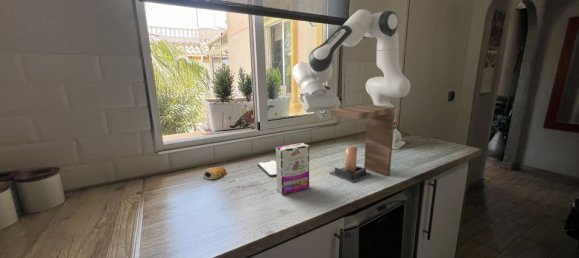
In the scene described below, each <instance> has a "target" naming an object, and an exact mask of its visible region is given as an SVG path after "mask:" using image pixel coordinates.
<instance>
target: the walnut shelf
mask: <svg viewBox="0 0 579 258" xmlns="http://www.w3.org/2000/svg"><path fill="white" fill-rule="evenodd" d="M395 109H396V106H394V107H388V106H378V105H374V104H363V105H355V106H349V107H341V108H337V109H334V110H332V109H330V116H331V117H333V116H334V117H339V118H346V119H351V120H352V119H353V120H364V119H366V127H365V128H366V131H365V146H364V163H363V168H365V169H366V171H370V172H373V173H376V174H379V175H383V176H386V177H388V176H390V175H391V168H392V167H391V166H392V154H393V149H392V143H393V131H394V118H395V119H396V113H395Z"/></svg>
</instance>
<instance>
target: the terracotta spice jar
mask: <svg viewBox="0 0 579 258" xmlns="http://www.w3.org/2000/svg"><path fill="white" fill-rule="evenodd" d="M357 151H358V147H356V146H355V145H347V146H345V151H344V152H345V154H344V155H345V156H344V167H345V171H347V172H350V173H354V172H356V166H357V155H358V152H357Z"/></svg>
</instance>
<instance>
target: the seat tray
mask: <svg viewBox="0 0 579 258" xmlns="http://www.w3.org/2000/svg"><path fill="white" fill-rule="evenodd" d="M329 175H331V176H333V177H336V178H339V179H342V180H344V181H347V182H349V183H352V184H355V183H357V182H358V181H361V180H363V179H365V178H367V177H370V176H372V173H370V172H367V169H365V168H364V167H362V166H357V165H356V172H354V173H350V172H347V171H345V166H343V167H341V168H338V167H334V170H333V171H330V172H329Z"/></svg>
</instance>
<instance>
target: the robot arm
mask: <svg viewBox="0 0 579 258" xmlns="http://www.w3.org/2000/svg"><path fill="white" fill-rule="evenodd" d="M398 26H399V16H398V15H397V13H396V12H395V11H393V10H385V11H381V12H375V13H373V14H372V13H371V12H370V11H369V10H367V9H365V8H363V9H362V8H361V9H358V10H356V11H355V12H354V13H353V14H352V15H350V17H349V18H348V19H347V20H346V21H345V22H344V23H343V24H342V25H341V26H340V27H338V28H337V29H336V30H335V31H334V32H332V34H331V35H330V36H328V38H327V39H326V40H325V41H323V42H322V43H321V44H320V45H318V46H316V47H314V48H313V49H312V50H311V51H310V53H309V55H308V62H304V61H300V62H298V63H296V64H295V65H294V67H293V69H292V77H293V79H294V81H295V84H296V85H297V86H298V88H300V89H301V92H302V93H299V95H298V99H299V101H300V103H301V106H302V108H303V109H304V111H305V112H306V113H313V114H315V116H318V118H319V120H324V118H325V117H326V116H325V114H324V113H322V112H323V111H329V110H330V111H331V110H334V109H339V107H340V106H341V101H340V99H339V98H338V96H337V95H336V94H335V92H334V91H333V89H332V87H331V86H328V85H325V83H326V82H328V81H330V79H332V77H333V75H334V74H333V72H334V71H333V58H334V54H335V53H336V52H337V50H339V48H341V46H345V47H347V48H350V47H352V48H353V47H355V46H356V45H357V44H359V43H360V41H362V39H368V38H376V40H377V42H376V60H375V61H376V62H375V63H376V66H377V68H378V69H379V70H381V71H382V74H383V76H374V77H371V78H369V79H367V81H366V83H365V90H366V92H367V94H368V95H369V96H370V98H371V100H372V102H373V105H378V106H388V107H395V105H394V104H392V103H391V101H390V98H395V99H396V98H397V99H398V98H403V97H406V96H408V94H409V93H410V91H411V82H410V80H409V79H408V78H407V77H406V76H405V75H404V74H403V72H402V69H401V67H400V54H399V53H400V52H399V51H400V50H399V49H400V41H399V34H398ZM321 111H322V112H321ZM396 112H397V111H396V108H395V114H396ZM398 125H399V122H398V121H396V117H395V118H394V131H393V143H392V150H399V149H401V147H403V146H404V145H406V142H405V141H403V140H402V133H401V132H399V129H397V126H398Z"/></svg>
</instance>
